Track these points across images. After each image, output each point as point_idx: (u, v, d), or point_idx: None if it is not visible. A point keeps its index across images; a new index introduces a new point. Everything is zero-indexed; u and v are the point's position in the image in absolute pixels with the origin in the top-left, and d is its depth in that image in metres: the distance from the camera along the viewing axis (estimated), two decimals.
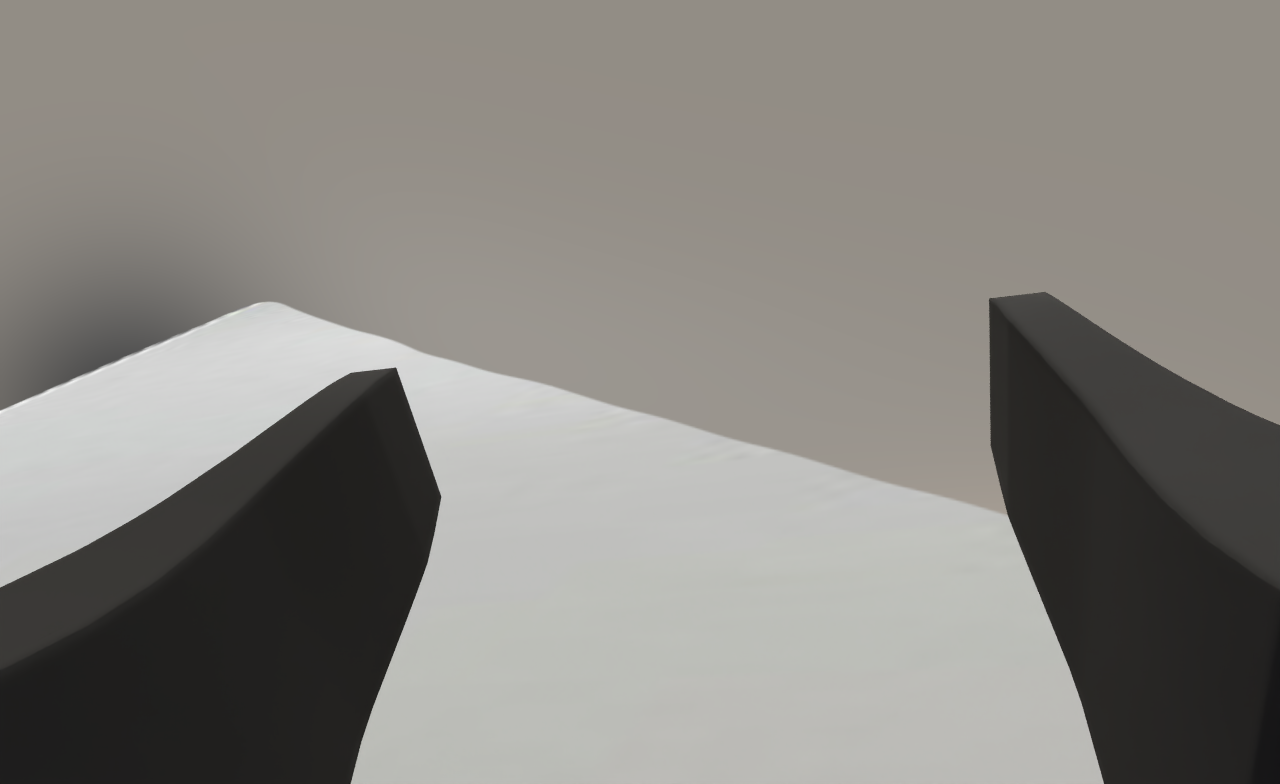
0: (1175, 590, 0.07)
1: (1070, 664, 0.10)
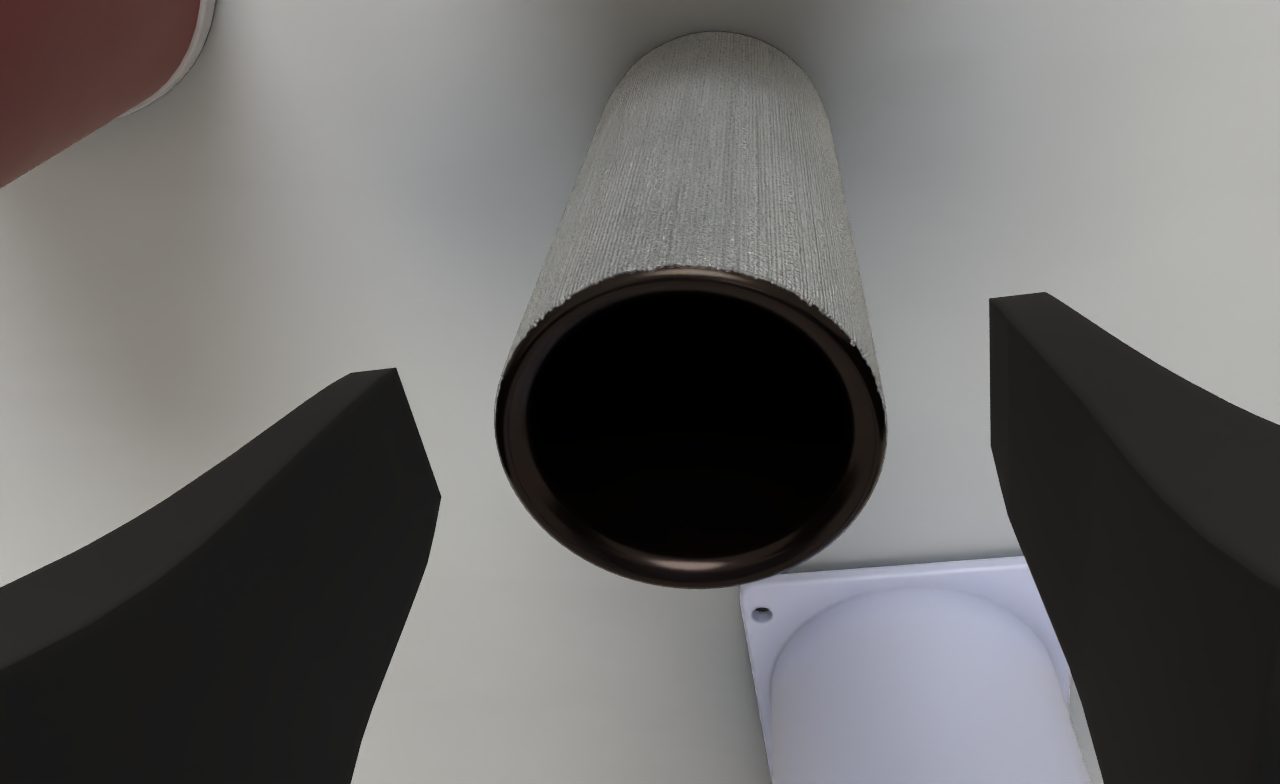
0: (1175, 590, 0.07)
1: (1070, 664, 0.10)
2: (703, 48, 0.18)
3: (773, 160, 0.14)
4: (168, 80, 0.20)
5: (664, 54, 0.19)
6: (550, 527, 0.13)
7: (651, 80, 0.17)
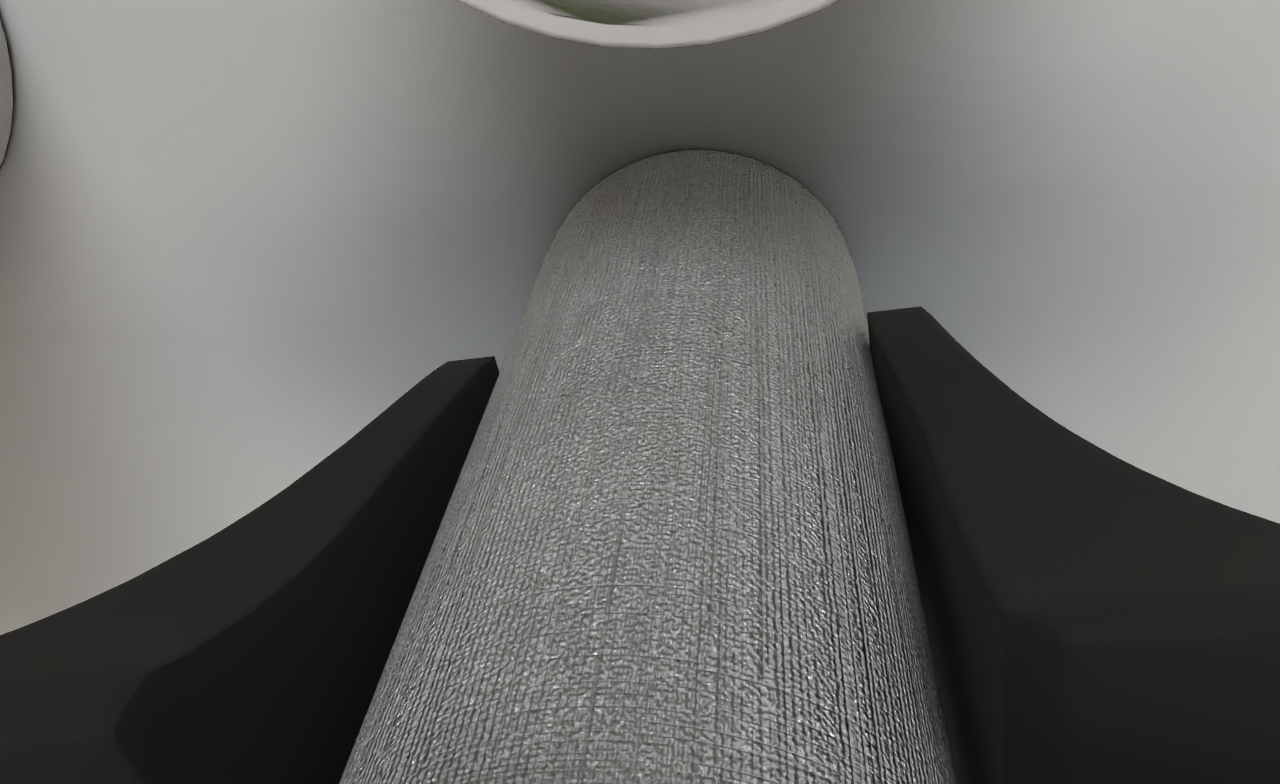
0: (964, 604, 0.07)
1: None
2: (680, 184, 0.13)
3: (785, 437, 0.09)
4: None
5: (626, 189, 0.13)
6: None
7: (603, 240, 0.12)
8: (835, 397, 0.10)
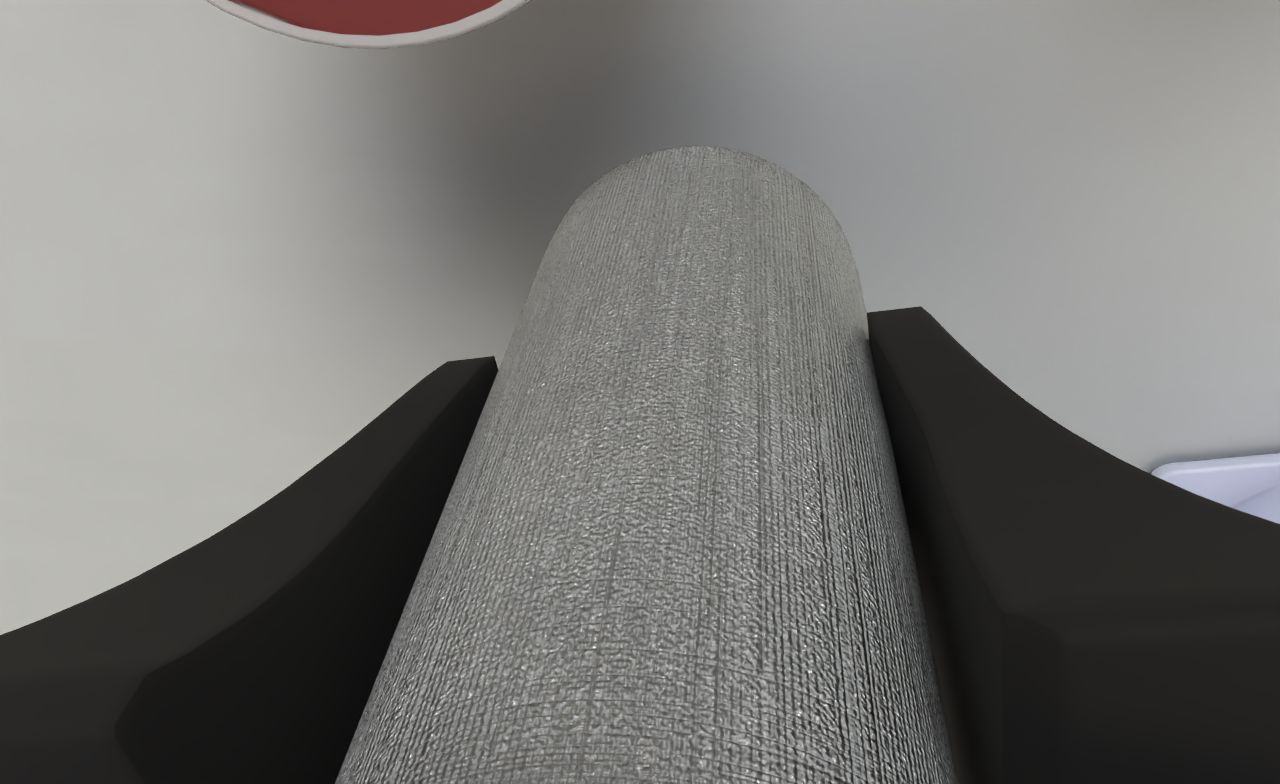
0: (964, 604, 0.07)
1: None
2: (680, 180, 0.13)
3: (784, 432, 0.09)
4: None
5: (626, 185, 0.13)
6: None
7: (603, 236, 0.12)
8: (835, 392, 0.10)
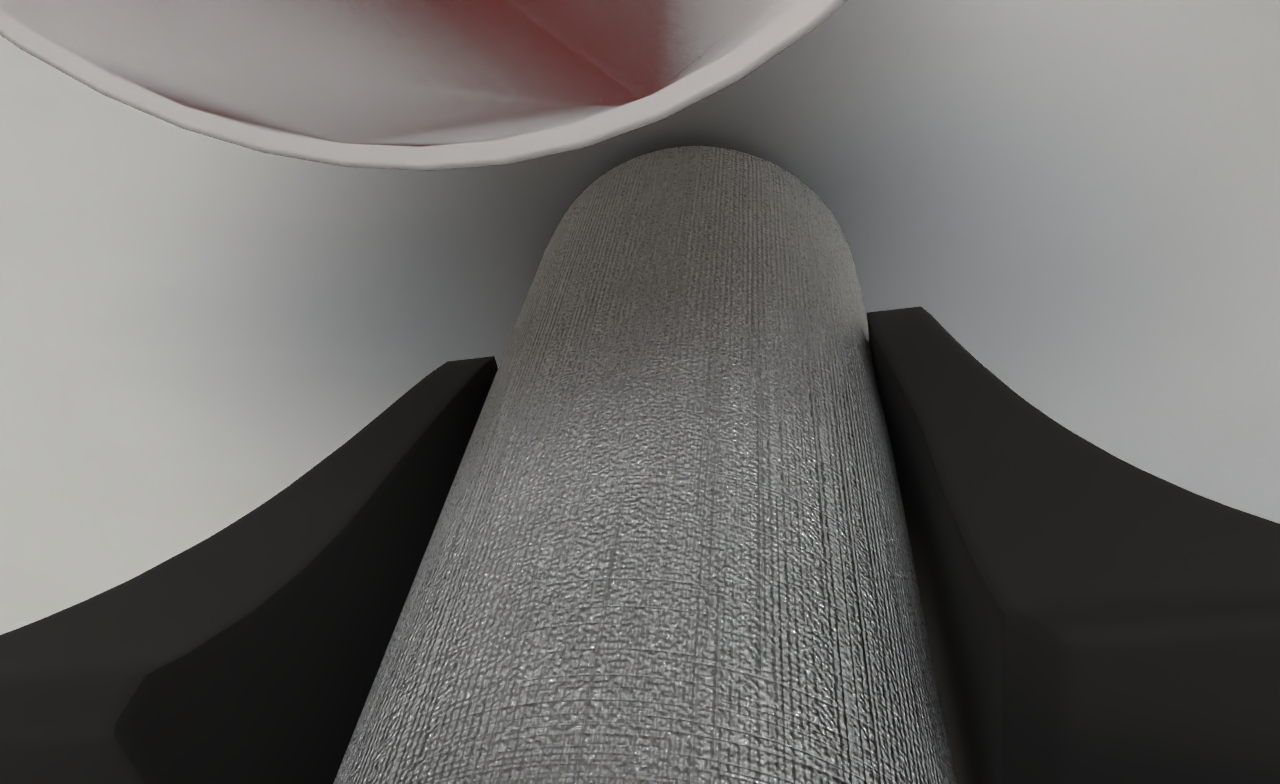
0: (965, 604, 0.07)
1: None
2: (679, 180, 0.13)
3: (783, 432, 0.09)
4: None
5: (625, 185, 0.13)
6: None
7: (602, 236, 0.12)
8: (834, 392, 0.10)
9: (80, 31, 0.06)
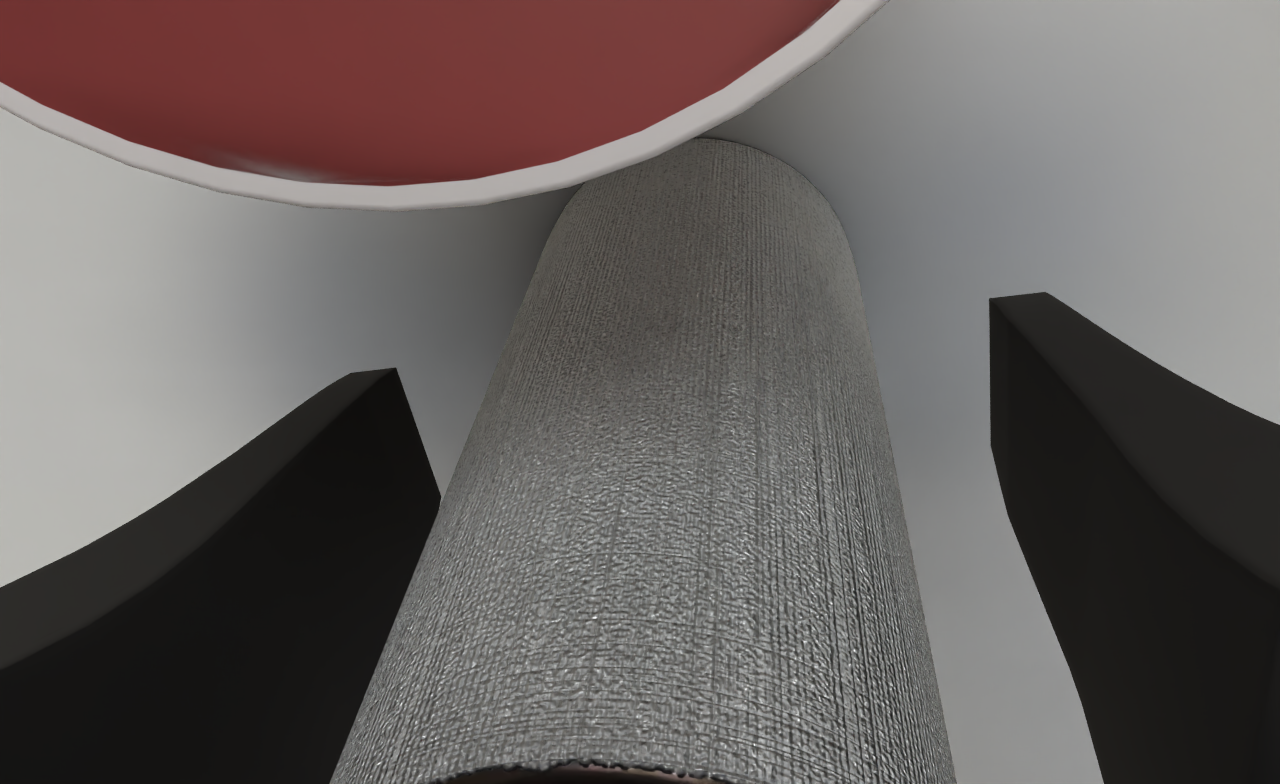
0: (1175, 590, 0.07)
1: (1071, 665, 0.10)
2: (679, 172, 0.13)
3: (781, 414, 0.09)
4: None
5: (625, 176, 0.13)
6: None
7: (603, 226, 0.12)
8: (831, 377, 0.10)
9: (13, 61, 0.05)
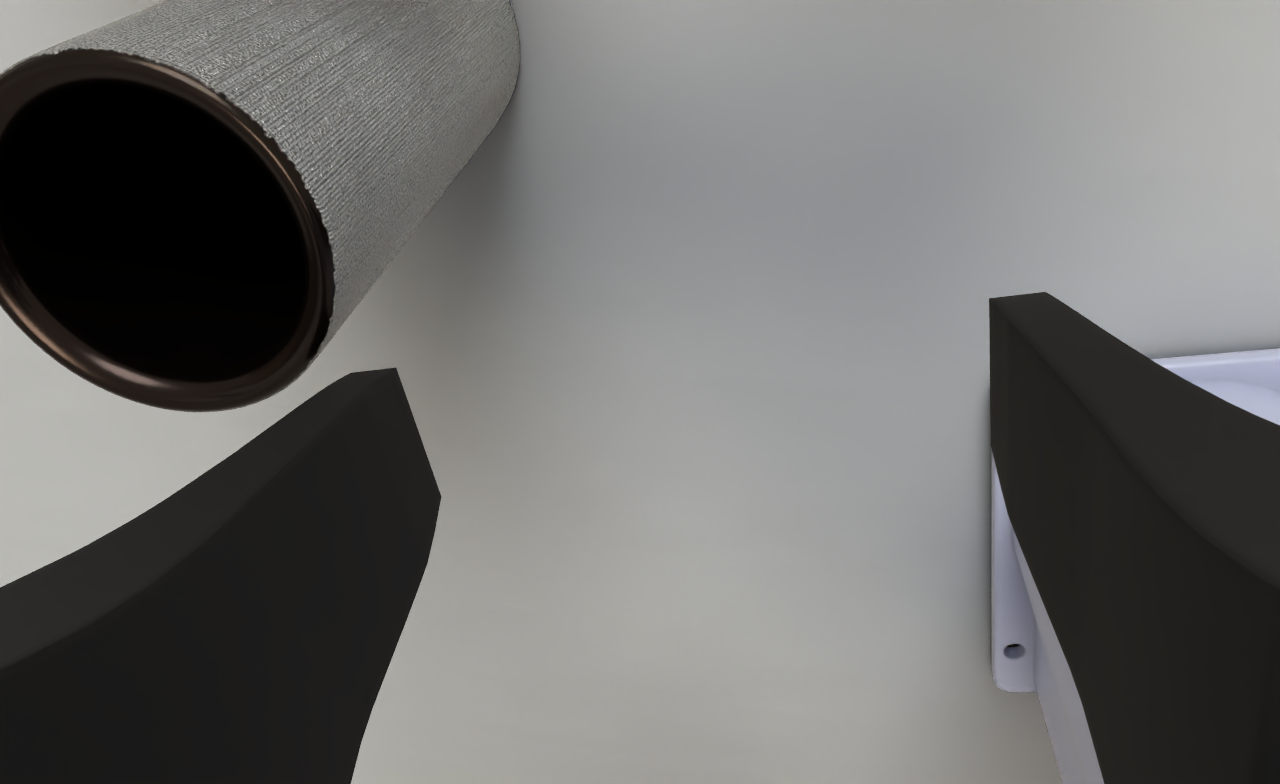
0: (1175, 590, 0.07)
1: (1070, 665, 0.10)
2: None
3: None
4: None
5: None
6: (39, 341, 0.13)
7: None
8: (383, 7, 0.15)
9: None
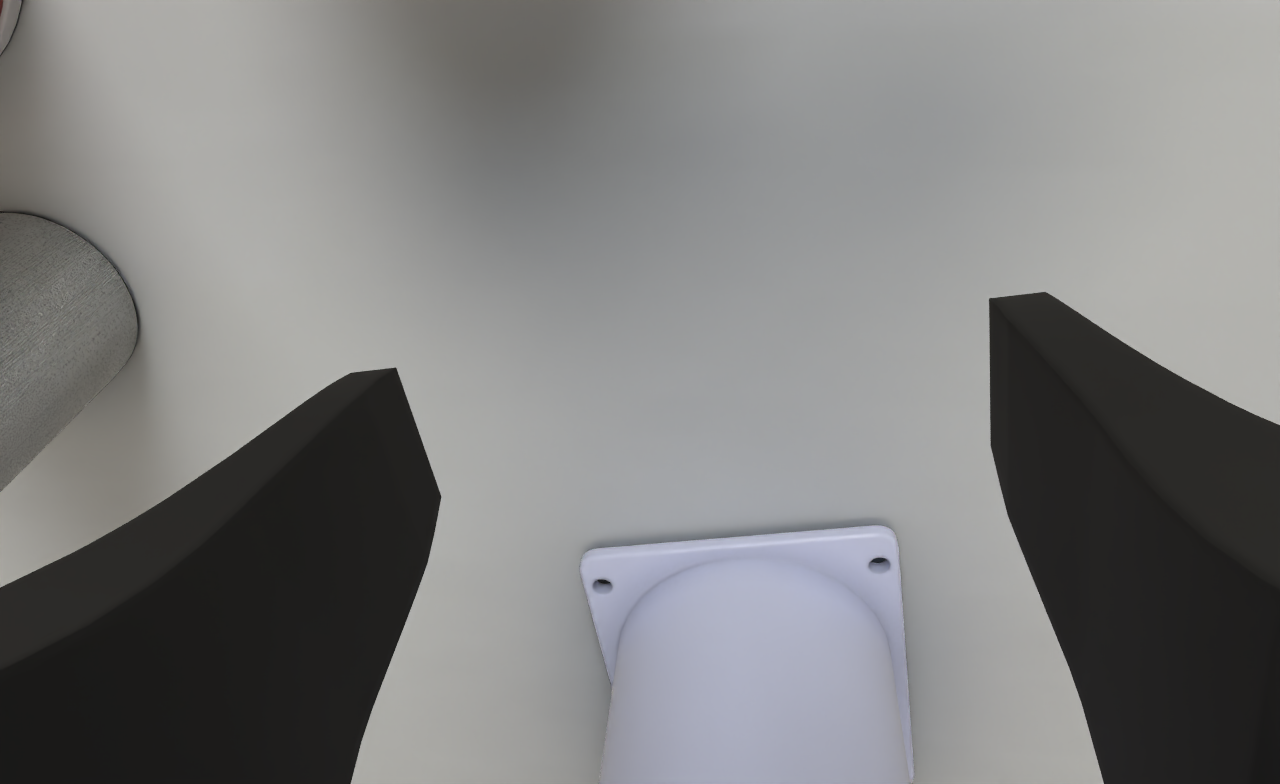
0: (1175, 590, 0.07)
1: (1070, 664, 0.10)
2: None
3: None
4: None
5: None
6: None
7: None
8: None
9: None
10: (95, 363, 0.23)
